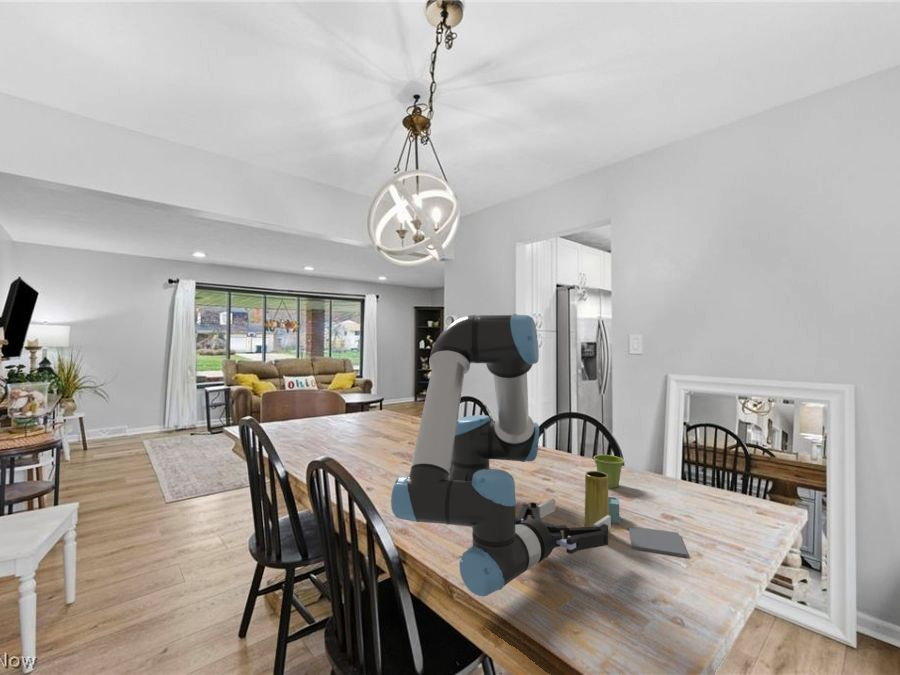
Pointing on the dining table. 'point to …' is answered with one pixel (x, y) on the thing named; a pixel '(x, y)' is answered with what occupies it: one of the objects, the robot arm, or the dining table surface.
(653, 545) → the slate mat
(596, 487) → the vase
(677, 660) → the dining table surface
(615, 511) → the letter cube
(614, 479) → the plant pot
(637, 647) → the dining table surface
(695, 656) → the dining table surface
